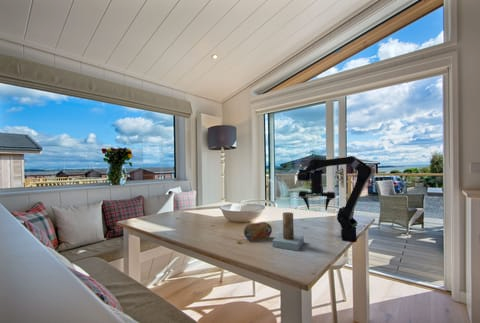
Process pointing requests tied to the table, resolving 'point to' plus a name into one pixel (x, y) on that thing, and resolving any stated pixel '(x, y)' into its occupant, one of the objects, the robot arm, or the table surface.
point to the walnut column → (288, 226)
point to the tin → (257, 231)
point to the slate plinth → (288, 242)
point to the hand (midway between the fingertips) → (317, 209)
